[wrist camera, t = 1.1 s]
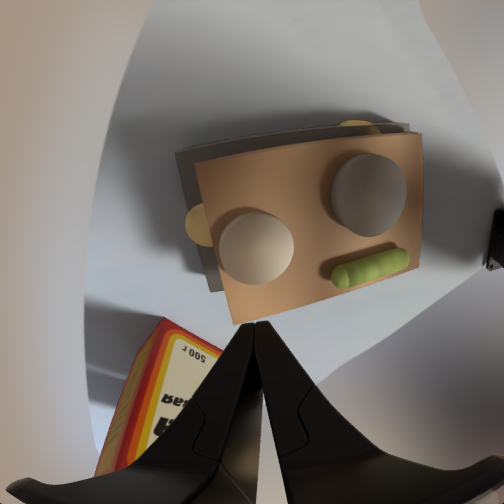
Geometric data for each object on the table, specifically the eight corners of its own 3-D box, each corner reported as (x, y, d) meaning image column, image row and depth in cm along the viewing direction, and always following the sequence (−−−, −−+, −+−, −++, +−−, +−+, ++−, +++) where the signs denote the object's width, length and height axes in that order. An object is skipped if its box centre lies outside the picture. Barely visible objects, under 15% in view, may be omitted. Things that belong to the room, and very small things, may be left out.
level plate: (409, 131, 16) (443, 136, 13) (409, 254, 20) (437, 273, 17) (194, 162, 14) (195, 169, 12) (228, 307, 18) (237, 340, 15)
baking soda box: (136, 354, 27) (88, 495, 13) (164, 316, 25) (109, 486, 11) (213, 394, 30) (201, 530, 15) (250, 364, 28) (250, 523, 13)
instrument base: (393, 118, 18) (408, 119, 16) (397, 251, 22) (408, 263, 20) (174, 146, 19) (166, 150, 17) (208, 281, 23) (204, 296, 21)
